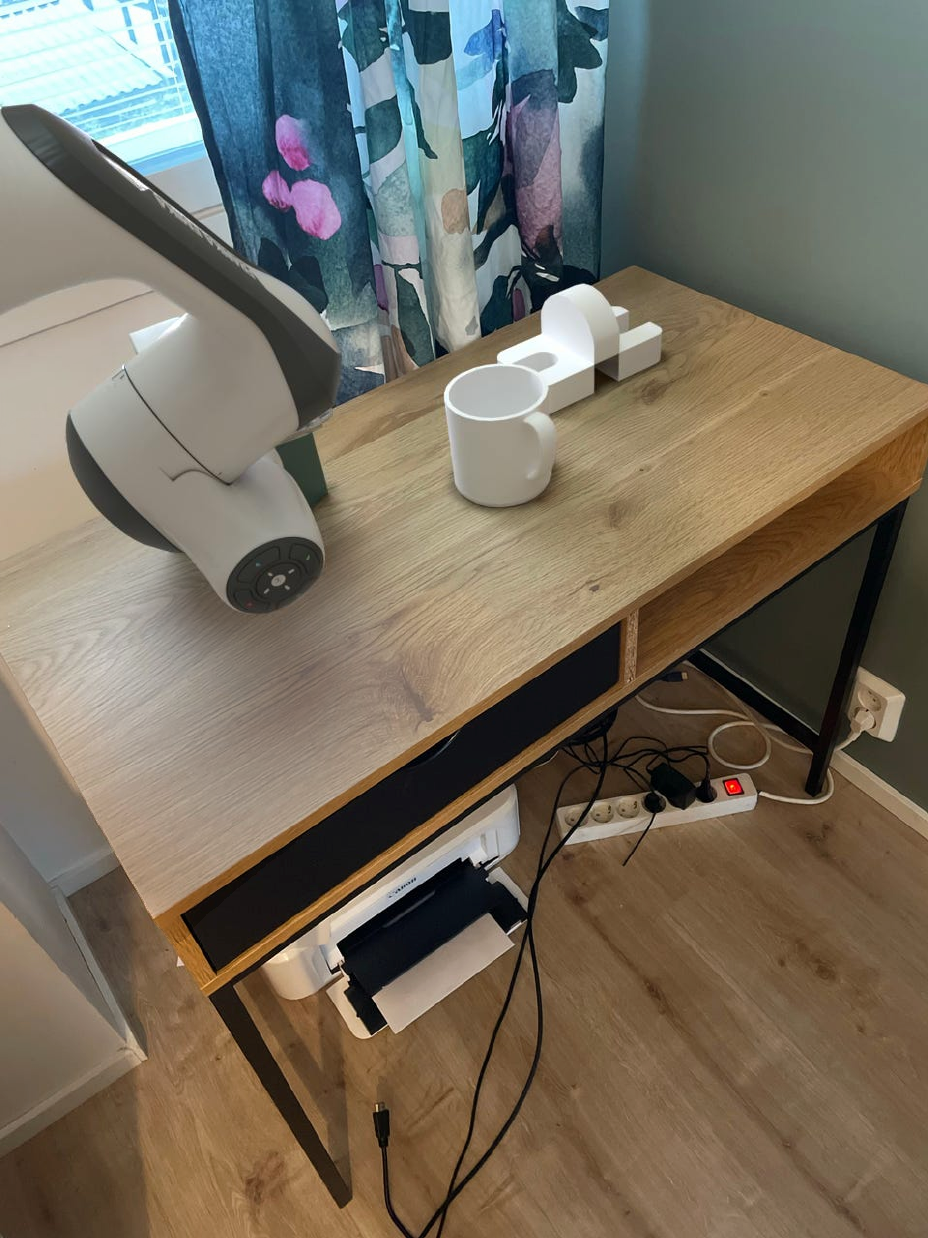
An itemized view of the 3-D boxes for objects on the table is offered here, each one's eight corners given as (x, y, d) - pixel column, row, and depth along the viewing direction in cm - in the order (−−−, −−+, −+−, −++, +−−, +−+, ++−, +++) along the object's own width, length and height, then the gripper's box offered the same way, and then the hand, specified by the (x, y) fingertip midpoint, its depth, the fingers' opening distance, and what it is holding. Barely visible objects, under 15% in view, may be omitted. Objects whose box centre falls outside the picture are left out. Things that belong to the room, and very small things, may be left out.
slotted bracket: (612, 329, 112) (613, 251, 105) (665, 358, 106) (670, 278, 99) (494, 383, 106) (487, 304, 99) (543, 417, 100) (540, 335, 93)
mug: (435, 479, 94) (422, 393, 86) (506, 438, 98) (500, 352, 90) (516, 533, 86) (509, 444, 79) (589, 486, 90) (589, 397, 83)
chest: (248, 470, 98) (225, 400, 92) (328, 491, 94) (309, 420, 88) (174, 541, 91) (143, 471, 85) (256, 567, 87) (230, 495, 81)
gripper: (332, 384, 70) (278, 315, 79) (70, 472, 65) (45, 387, 74) (347, 450, 75) (295, 378, 84) (104, 538, 70) (76, 451, 79)
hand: (176, 383), depth 79 cm, fingers open, 8 cm apart
